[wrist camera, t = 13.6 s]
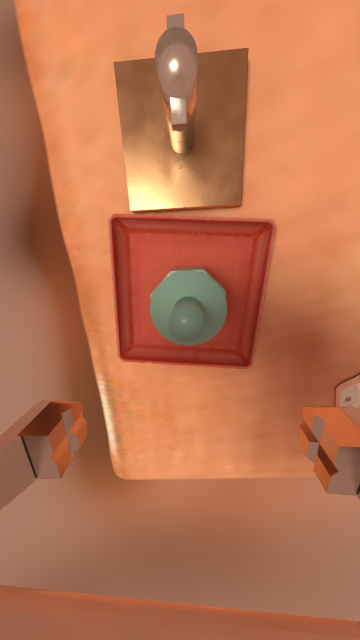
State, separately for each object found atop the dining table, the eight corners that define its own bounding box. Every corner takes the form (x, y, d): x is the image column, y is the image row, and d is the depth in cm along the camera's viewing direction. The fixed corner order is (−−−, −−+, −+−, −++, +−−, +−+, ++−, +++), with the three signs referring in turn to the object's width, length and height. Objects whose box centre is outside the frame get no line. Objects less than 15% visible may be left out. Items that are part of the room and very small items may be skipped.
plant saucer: (116, 217, 24) (105, 212, 21) (267, 221, 24) (279, 217, 21) (125, 350, 30) (117, 362, 27) (245, 357, 30) (252, 369, 27)
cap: (221, 265, 22) (237, 274, 14) (220, 327, 25) (233, 366, 16) (155, 268, 23) (133, 279, 15) (161, 328, 25) (144, 367, 17)
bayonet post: (237, 206, 23) (273, 174, 13) (133, 212, 24) (93, 186, 14) (244, 62, 19) (302, -141, 9) (119, 75, 20) (46, -100, 10)
